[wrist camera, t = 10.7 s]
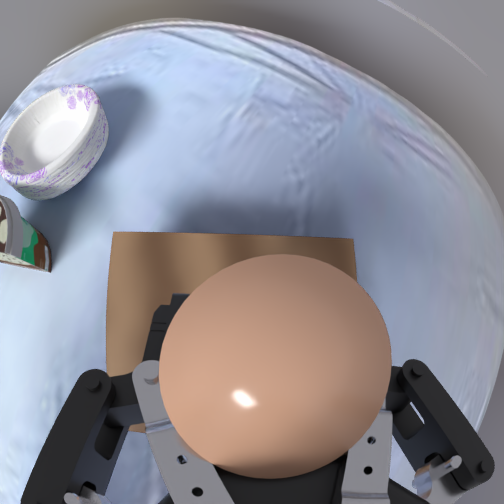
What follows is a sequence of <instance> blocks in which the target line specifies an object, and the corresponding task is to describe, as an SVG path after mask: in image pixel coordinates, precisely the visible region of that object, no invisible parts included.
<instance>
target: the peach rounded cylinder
mask: <svg viewBox="0 0 504 504" xmlns="http://www.w3.org/2000/svg"><path fill="white" fill-rule="evenodd" d="M391 365H392V359H391V346H390V340H389V335H388V332H387V328H386V325H385V322H384V320H383V318H382V316H381V313H380V311H379V309H378V308H377V306H376V305H375V303H374V301H373V300H372V298H371V297H370V296H369V295H368V293H367V292H366V291H365V290H364V289H363V288H362V287H361V286H360V285H359V284H358V283H357V282H356V281H355V280H354V279H353V278H351V277H350V276H348V275H347V274H346V273H344V272H343V271H341V270H339V269H337V268H336V267H334V266H332V265H330V264H328V263H325V262H322V261H319V260H317V259H314V258H309V257H305V256H300V255H289V254H276V255H265V256H259V257H254V258H250V259H247V260H244V261H241V262H237V263H235V264H233V265H231V266H229V267H227V268H224V269H222V270H221V271H219V272H218V273H216V274H214V275H213V276H211V277H210V278H208V279H207V280H206V281H205V282H203V283H202V284H201V285H200V286H199V287H197V288H196V289H195V290H194V291H193V292H192V293H191V295H190V296H189V297H188V298H187V299H186V300H185V301H184V303H183V304H182V305H181V307H180V308H179V310H178V311H177V313H176V314H175V316H174V318H173V320H172V322H171V324H170V326H169V328H168V330H167V333H166V335H165V338H164V341H163V344H162V349H161V355H160V360H159V383H160V391H161V396H162V399H163V403H164V407H165V409H166V412H167V414H168V416H169V418H170V421H171V422H172V424H173V426H174V427H175V429H176V430H177V432H178V434H179V435H180V436H181V437H182V438H183V440H184V441H185V442H186V443H187V444H188V445H189V446H190V447H191V448H192V449H193V450H194V451H195V452H196V453H197V454H199V455H200V456H201V457H203V458H204V459H206V460H207V461H209V462H210V463H212V464H214V465H216V466H218V467H220V468H222V469H224V470H226V471H229V472H232V473H235V474H238V475H242V476H247V477H253V478H265V479H275V478H286V477H292V476H297V475H301V474H305V473H308V472H311V471H314V470H316V469H318V468H321V467H323V466H325V465H327V464H329V463H330V462H332V461H334V460H335V459H337V458H339V457H340V456H341V455H343V454H344V453H345V452H347V451H348V450H349V449H350V448H352V447H353V446H354V445H355V444H356V443H357V442H358V441H359V440H360V439H361V438H362V436H363V435H364V434H365V433H366V432H367V430H368V429H369V428H370V426H371V425H372V423H373V422H374V420H375V418H376V417H377V415H378V413H379V411H380V409H381V407H382V405H383V402H384V399H385V397H386V394H387V391H388V386H389V382H390V376H391Z"/></svg>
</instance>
